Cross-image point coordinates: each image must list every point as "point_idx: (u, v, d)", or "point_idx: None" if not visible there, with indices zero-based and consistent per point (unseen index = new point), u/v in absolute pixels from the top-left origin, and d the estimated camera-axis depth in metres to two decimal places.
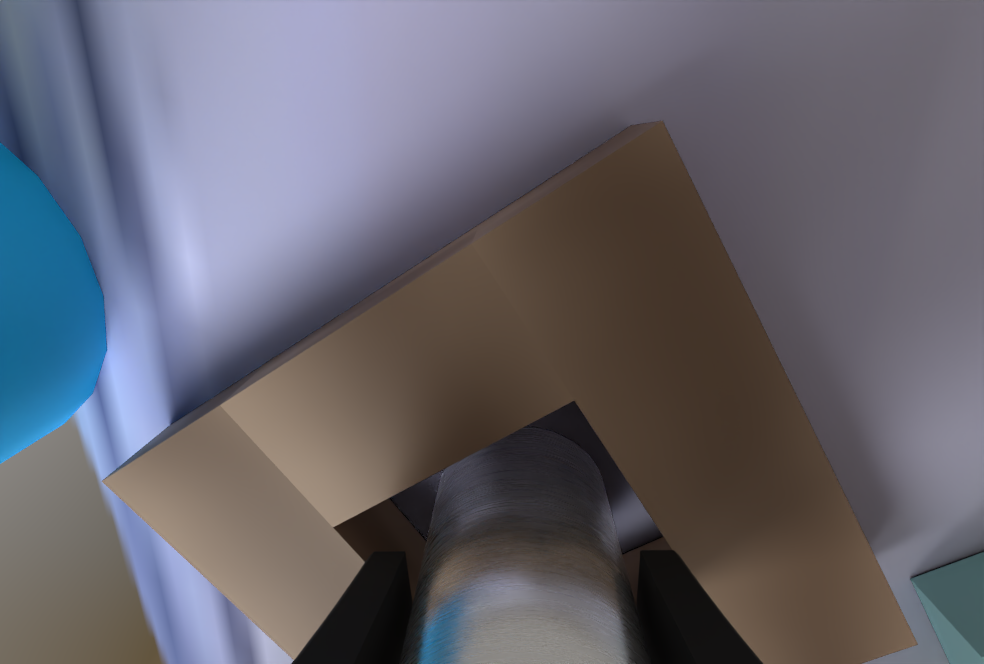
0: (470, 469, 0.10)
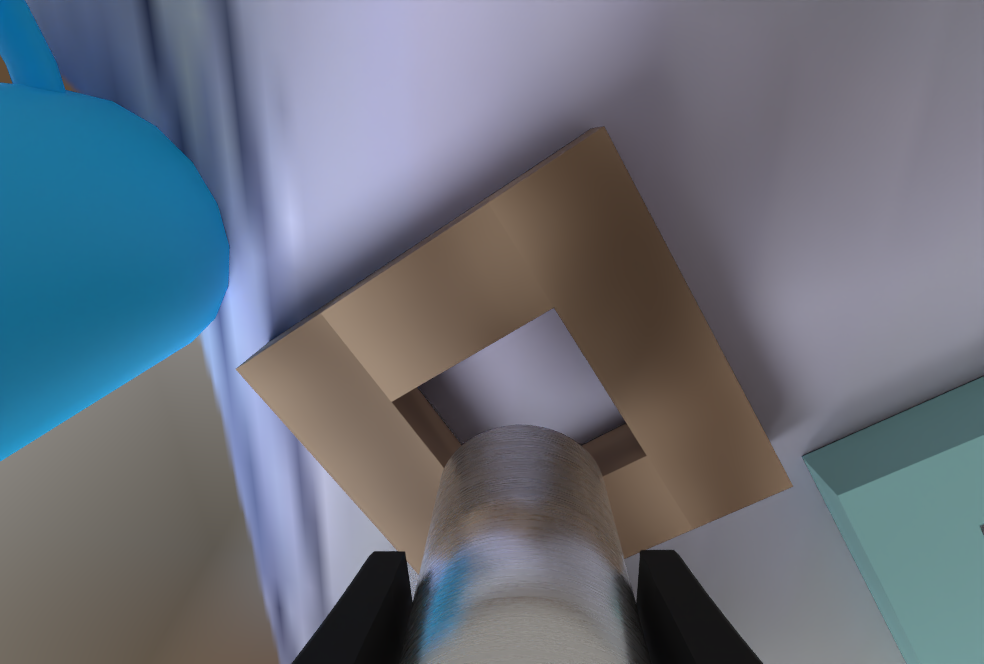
0: (471, 466, 0.10)
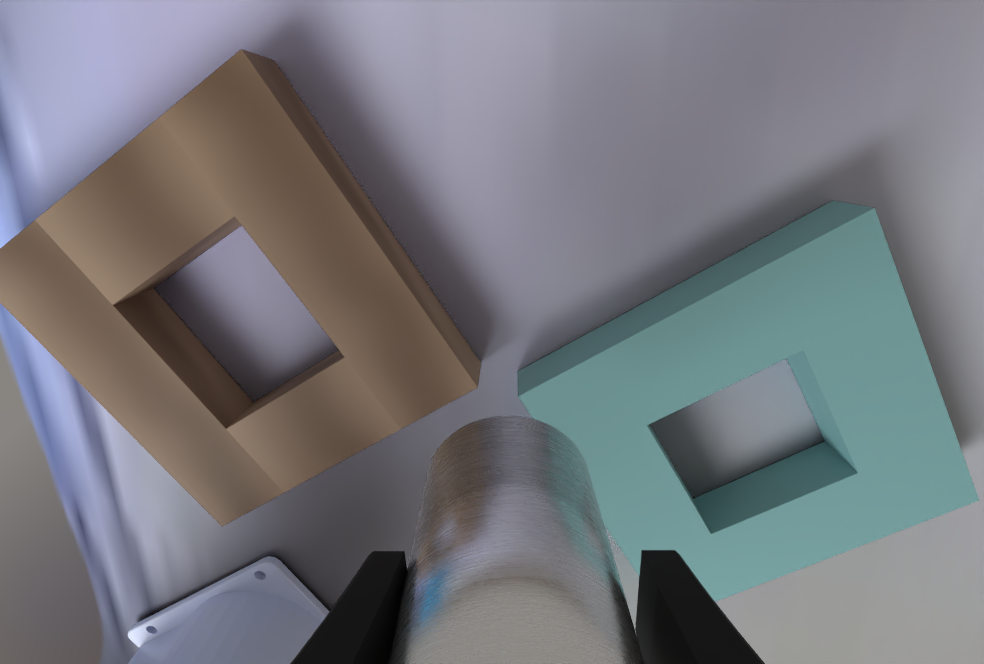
0: (456, 458, 0.10)
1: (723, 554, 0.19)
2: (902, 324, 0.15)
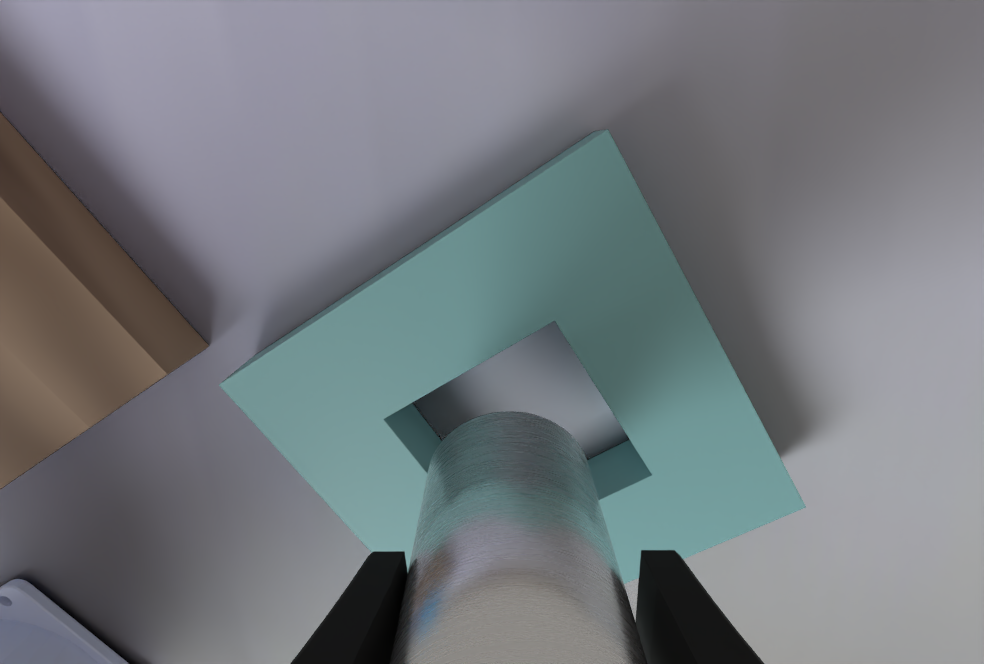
0: (456, 454, 0.11)
1: None
2: (672, 285, 0.12)
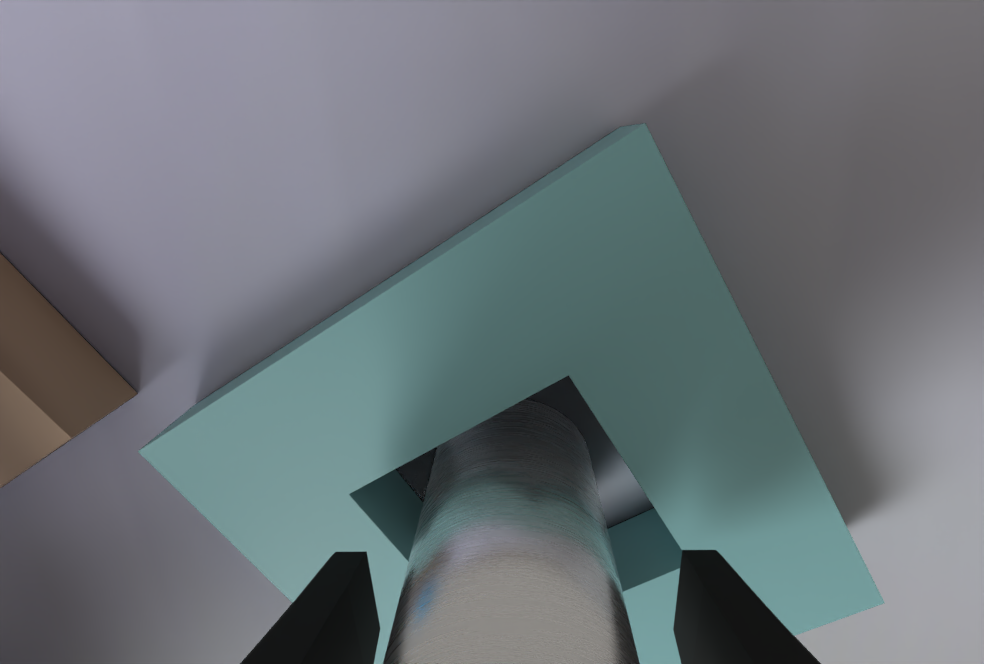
0: (461, 436, 0.11)
1: None
2: (726, 330, 0.09)
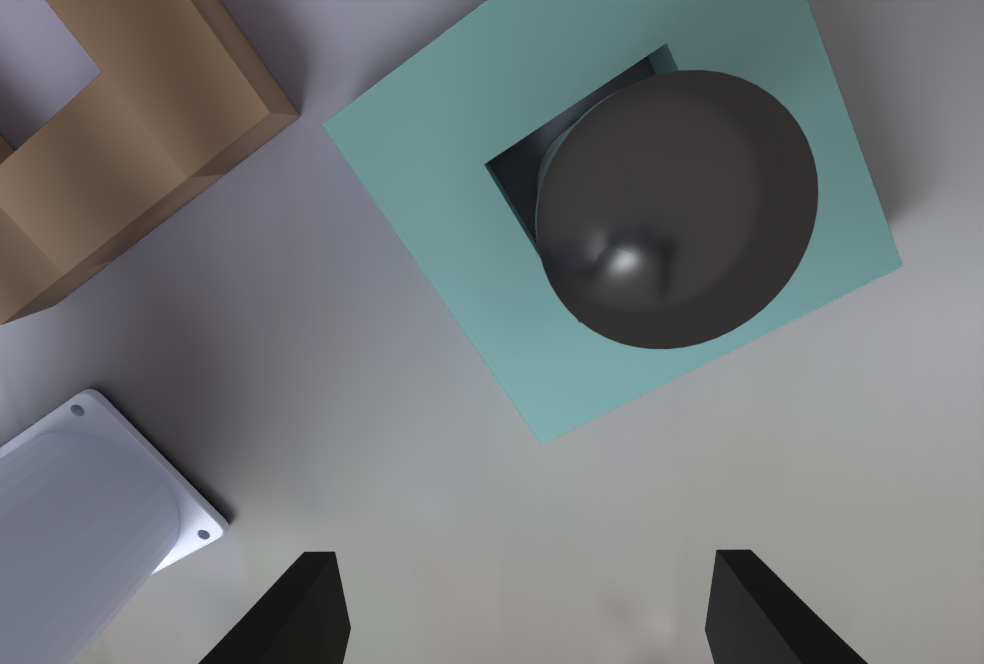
0: (569, 128, 0.14)
1: (597, 351, 0.16)
2: None
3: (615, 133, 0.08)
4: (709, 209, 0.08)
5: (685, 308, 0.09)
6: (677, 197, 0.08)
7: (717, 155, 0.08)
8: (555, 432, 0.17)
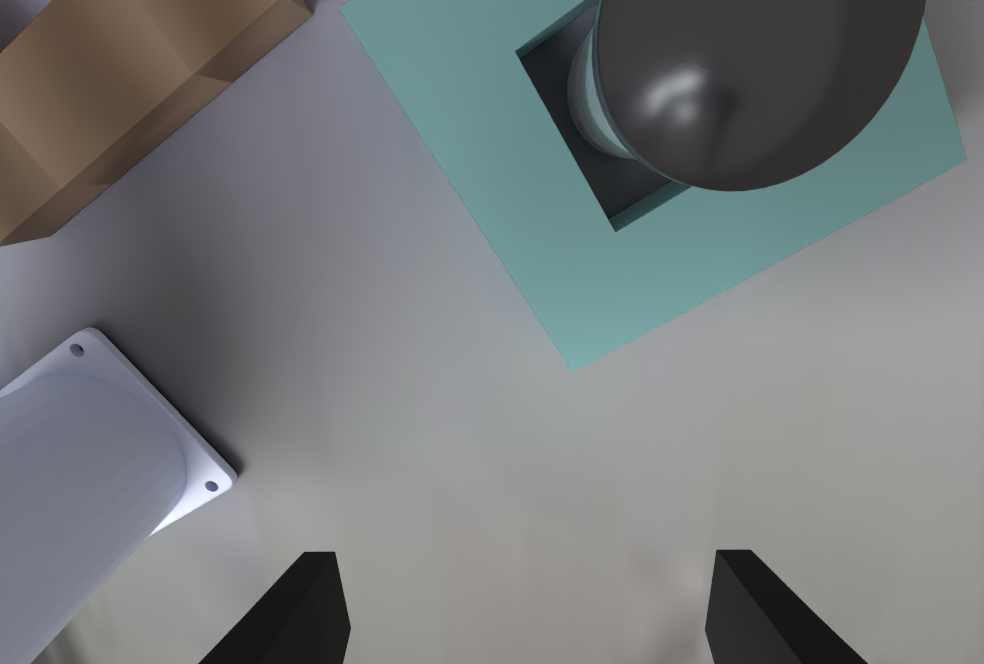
0: None
1: (634, 265, 0.15)
2: None
3: None
4: (799, 9, 0.07)
5: (766, 138, 0.08)
6: None
7: None
8: (587, 358, 0.16)
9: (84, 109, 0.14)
